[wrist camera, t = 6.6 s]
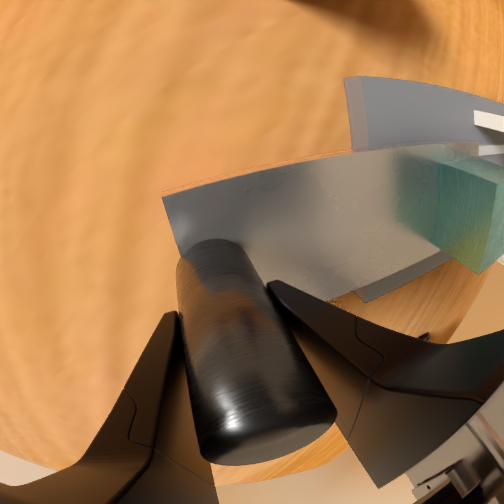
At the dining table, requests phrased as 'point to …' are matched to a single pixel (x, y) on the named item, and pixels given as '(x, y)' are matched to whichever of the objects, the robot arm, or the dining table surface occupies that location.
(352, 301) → the dining table surface
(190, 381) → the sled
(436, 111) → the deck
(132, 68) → the dining table surface
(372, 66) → the dining table surface
